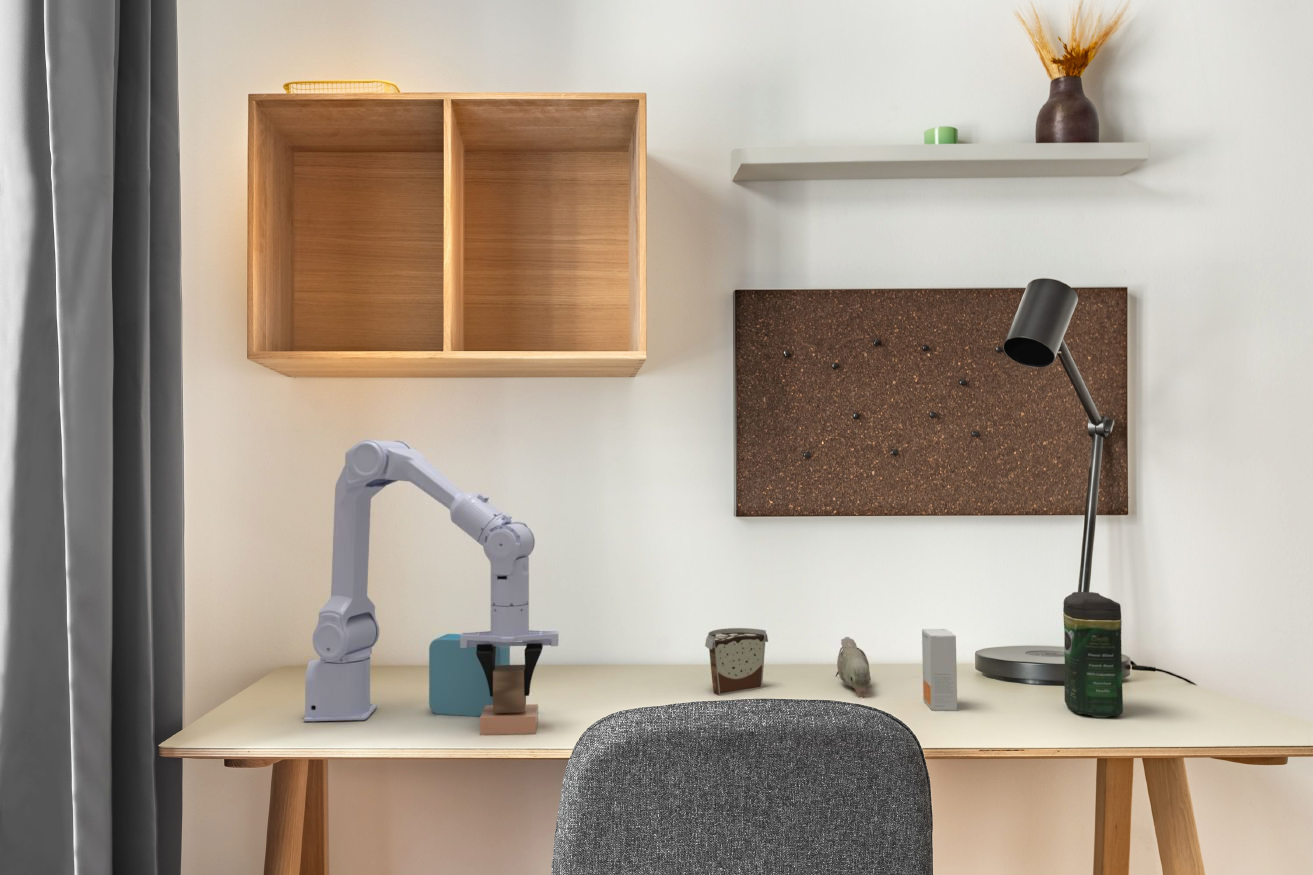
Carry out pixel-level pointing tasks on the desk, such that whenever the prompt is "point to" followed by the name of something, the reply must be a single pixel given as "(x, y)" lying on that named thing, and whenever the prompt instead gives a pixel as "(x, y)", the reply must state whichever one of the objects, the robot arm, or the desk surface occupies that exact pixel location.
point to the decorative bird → (853, 666)
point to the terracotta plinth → (509, 721)
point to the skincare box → (939, 669)
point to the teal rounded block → (459, 677)
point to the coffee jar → (1093, 654)
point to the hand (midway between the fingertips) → (509, 694)
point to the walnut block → (509, 689)
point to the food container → (736, 659)
